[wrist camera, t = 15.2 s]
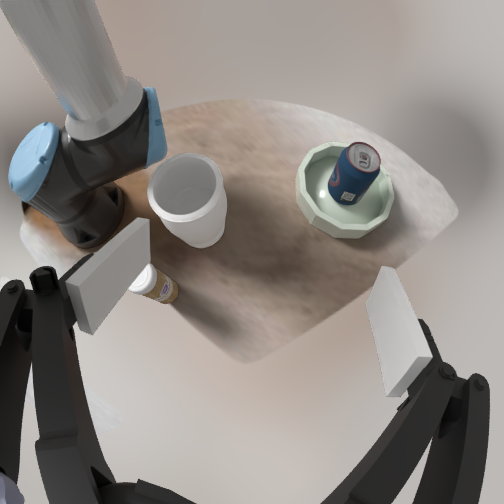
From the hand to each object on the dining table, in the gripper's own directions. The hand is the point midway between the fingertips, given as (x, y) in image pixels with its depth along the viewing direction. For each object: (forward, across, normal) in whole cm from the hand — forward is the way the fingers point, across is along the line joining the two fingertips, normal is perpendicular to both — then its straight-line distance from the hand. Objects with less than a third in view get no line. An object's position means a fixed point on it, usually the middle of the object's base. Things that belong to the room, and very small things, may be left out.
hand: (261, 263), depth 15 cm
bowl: (+40, +12, -6) cm, 42 cm away
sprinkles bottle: (+23, -15, -23) cm, 36 cm away
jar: (+32, -12, -14) cm, 37 cm away
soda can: (+39, +12, -5) cm, 41 cm away
